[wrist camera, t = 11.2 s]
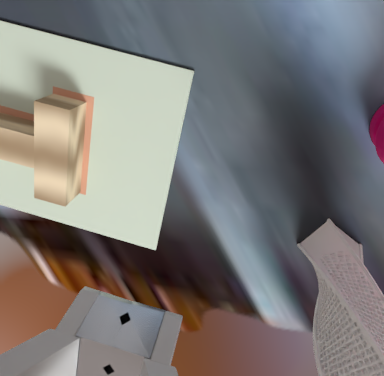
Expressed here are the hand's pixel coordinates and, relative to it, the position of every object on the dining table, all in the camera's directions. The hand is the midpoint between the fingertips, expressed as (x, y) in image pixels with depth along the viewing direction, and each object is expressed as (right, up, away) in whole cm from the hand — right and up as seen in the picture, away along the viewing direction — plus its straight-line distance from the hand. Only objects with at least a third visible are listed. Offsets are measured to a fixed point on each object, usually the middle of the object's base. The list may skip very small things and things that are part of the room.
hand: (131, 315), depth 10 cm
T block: (-17, +10, +33) cm, 38 cm away
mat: (-13, +9, +33) cm, 36 cm away
